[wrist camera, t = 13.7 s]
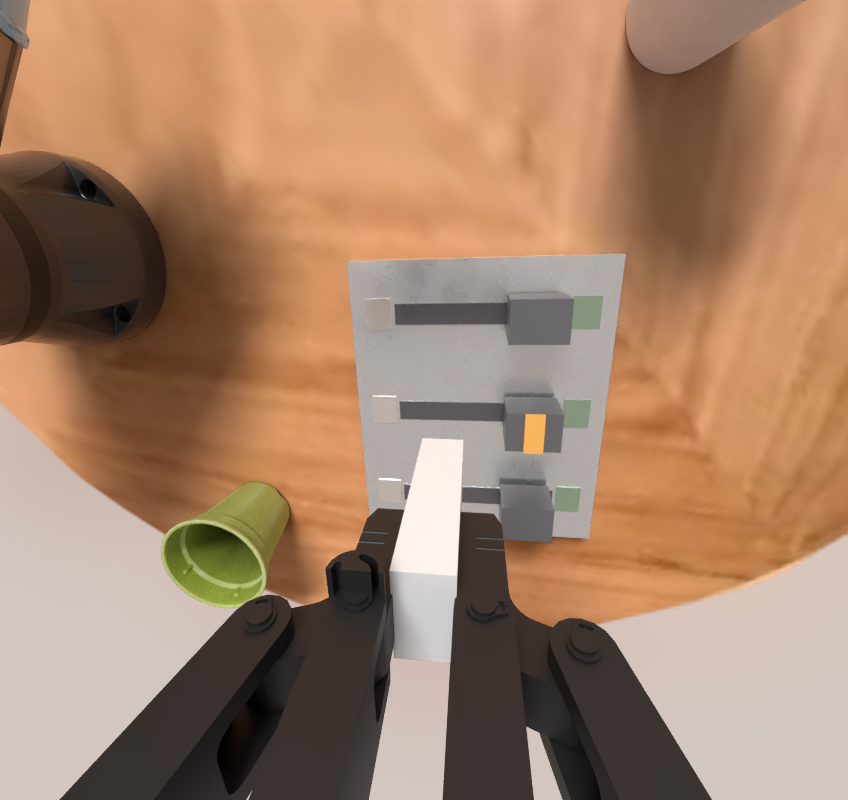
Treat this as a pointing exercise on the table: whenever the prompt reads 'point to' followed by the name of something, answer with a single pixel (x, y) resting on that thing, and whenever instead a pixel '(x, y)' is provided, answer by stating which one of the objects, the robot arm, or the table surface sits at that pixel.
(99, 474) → the table surface
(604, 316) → the panel
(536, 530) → the block
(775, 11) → the coffee cup
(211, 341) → the table surface
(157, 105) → the table surface
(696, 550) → the table surface
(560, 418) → the breaker
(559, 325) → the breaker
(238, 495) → the plant pot
